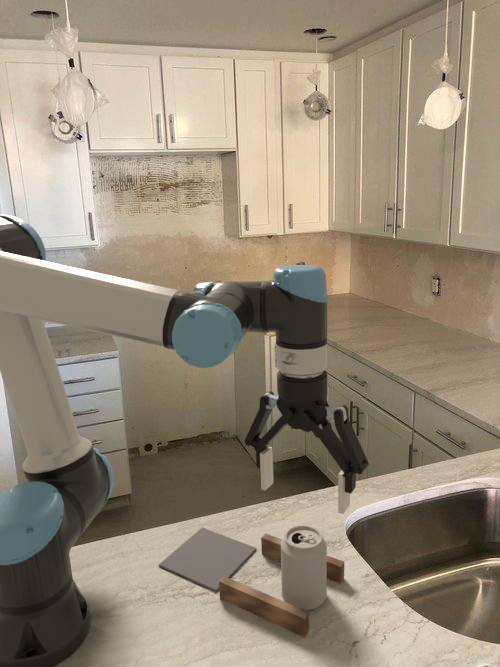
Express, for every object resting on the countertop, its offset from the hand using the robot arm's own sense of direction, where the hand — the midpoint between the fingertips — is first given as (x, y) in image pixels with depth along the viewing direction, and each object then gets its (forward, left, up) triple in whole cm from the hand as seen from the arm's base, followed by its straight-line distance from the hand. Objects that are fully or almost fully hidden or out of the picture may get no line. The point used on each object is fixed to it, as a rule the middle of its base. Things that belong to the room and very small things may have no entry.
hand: (304, 497), depth 86 cm
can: (0, 0, -19) cm, 19 cm away
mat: (-20, 0, -19) cm, 28 cm away
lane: (-4, 0, -19) cm, 19 cm away
